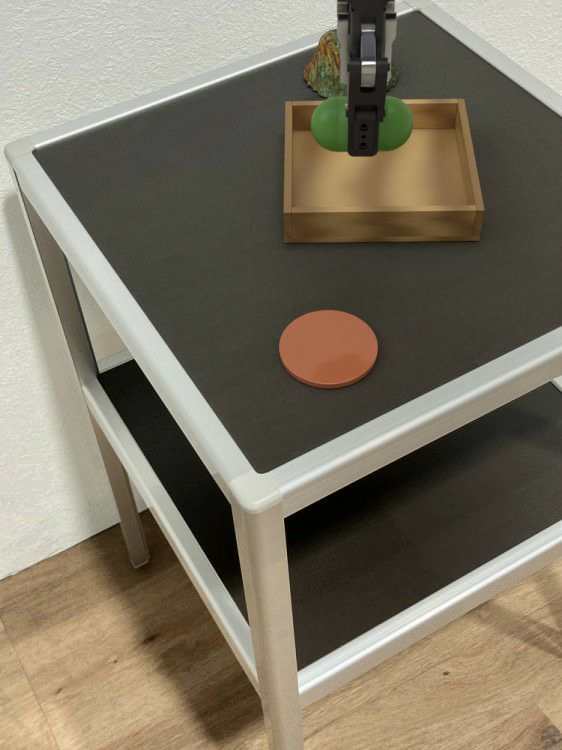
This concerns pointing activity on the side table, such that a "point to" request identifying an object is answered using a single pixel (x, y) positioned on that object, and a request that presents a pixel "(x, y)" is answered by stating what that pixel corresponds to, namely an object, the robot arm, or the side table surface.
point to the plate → (328, 349)
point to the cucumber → (333, 125)
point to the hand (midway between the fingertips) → (361, 133)
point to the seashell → (332, 68)
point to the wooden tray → (384, 182)
